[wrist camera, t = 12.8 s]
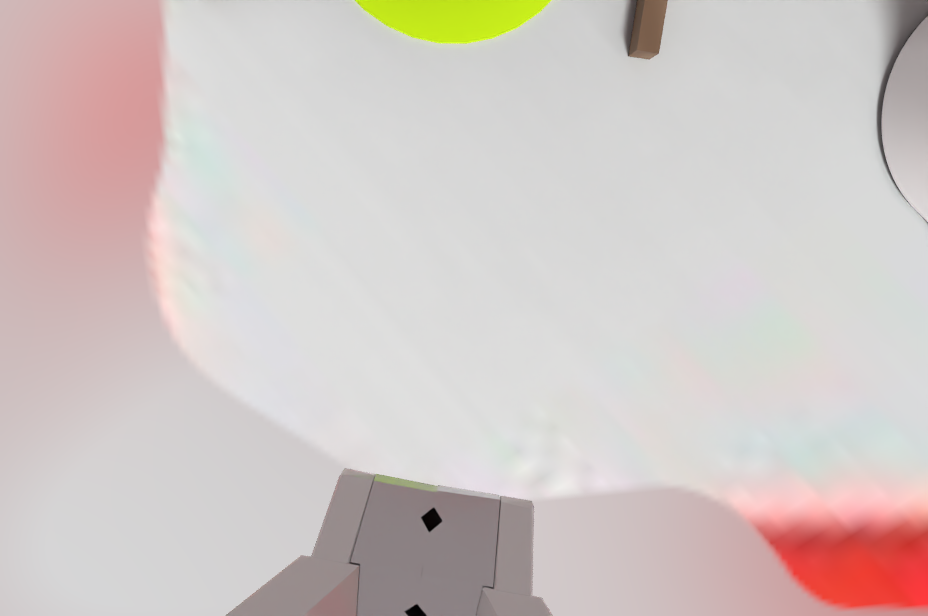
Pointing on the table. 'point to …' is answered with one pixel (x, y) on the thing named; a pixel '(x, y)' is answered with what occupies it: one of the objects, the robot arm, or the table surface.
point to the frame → (647, 28)
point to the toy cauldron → (453, 17)
